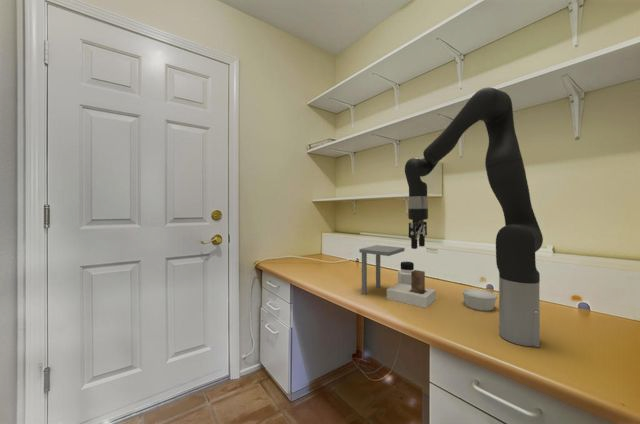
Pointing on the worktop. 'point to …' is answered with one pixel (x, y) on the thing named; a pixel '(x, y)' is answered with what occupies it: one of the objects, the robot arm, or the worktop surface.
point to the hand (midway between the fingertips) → (418, 247)
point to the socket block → (411, 295)
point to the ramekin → (479, 299)
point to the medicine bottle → (405, 272)
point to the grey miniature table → (378, 251)
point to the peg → (418, 282)
